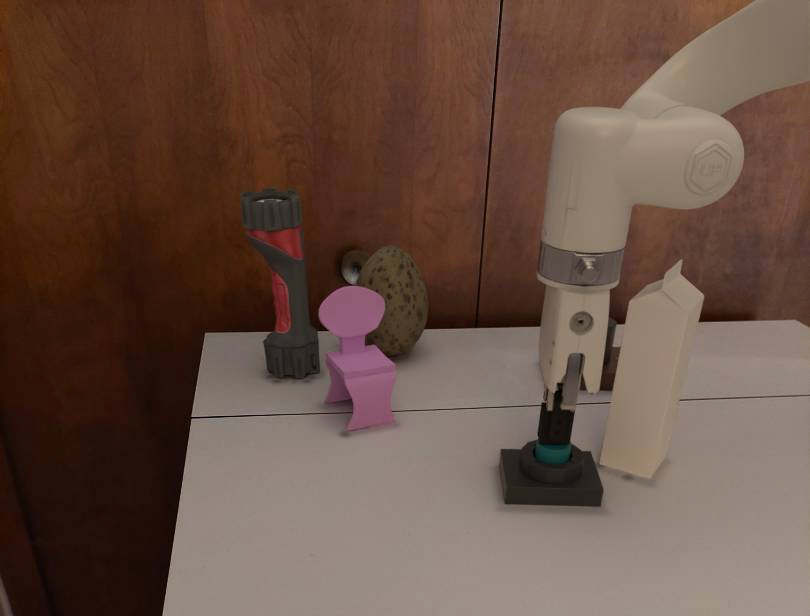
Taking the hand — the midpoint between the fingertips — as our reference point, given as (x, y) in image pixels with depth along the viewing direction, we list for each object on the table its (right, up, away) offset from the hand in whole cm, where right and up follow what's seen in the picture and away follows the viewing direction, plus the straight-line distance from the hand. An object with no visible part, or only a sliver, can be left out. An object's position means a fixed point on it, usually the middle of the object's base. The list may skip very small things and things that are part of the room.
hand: (553, 440), depth 83 cm
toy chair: (-21, +5, +17) cm, 27 cm away
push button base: (0, -4, +3) cm, 6 cm away
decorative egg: (-18, +16, +32) cm, 40 cm away
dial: (+10, +14, +25) cm, 31 cm away
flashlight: (-32, +13, +26) cm, 43 cm away
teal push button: (0, -2, +1) cm, 2 cm away
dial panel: (+10, +12, +27) cm, 31 cm away
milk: (+11, -1, +8) cm, 13 cm away
